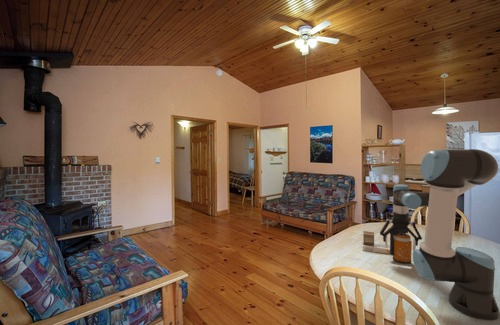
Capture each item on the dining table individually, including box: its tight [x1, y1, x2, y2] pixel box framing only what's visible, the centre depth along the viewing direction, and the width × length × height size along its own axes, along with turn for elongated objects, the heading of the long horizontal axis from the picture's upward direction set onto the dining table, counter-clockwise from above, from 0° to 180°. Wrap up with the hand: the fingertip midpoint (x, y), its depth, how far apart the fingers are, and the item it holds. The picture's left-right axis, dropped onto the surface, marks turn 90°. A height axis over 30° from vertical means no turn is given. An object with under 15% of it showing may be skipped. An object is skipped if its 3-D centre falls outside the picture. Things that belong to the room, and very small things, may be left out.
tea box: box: [362, 230, 375, 246], centre depth 158 cm, size 6×6×9 cm
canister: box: [389, 228, 413, 265], centre depth 139 cm, size 9×11×20 cm
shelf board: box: [361, 241, 391, 255], centre depth 155 cm, size 14×24×4 cm, turn 66°
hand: (399, 249), depth 139 cm, fingers open, 13 cm apart
